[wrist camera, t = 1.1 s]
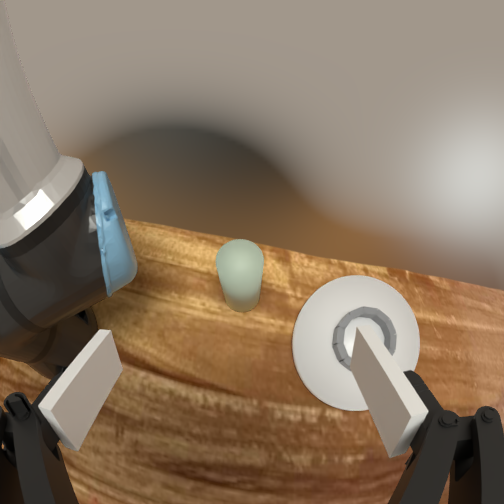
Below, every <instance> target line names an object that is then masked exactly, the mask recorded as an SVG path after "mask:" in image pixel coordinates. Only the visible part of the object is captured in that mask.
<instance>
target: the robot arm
mask: <svg viewBox="0 0 504 504" xmlns="http://www.w3.org/2000/svg"><path fill="white" fill-rule="evenodd" d="M137 269H138V265H137V260H136V256H135V253H134V250H133V246H132V243H131V240H130V237H129V234H128V231H127V228H126V225H125V222H124V220H123V217H122V214H121V211H120V208H119V205H118V202H117V199H116V196H115V193H114V191H113V188H112V185H111V183H110V180H109V179H108V176H107V174H106V172H104V171H100V172H94V173H92V176H90V175H89V174H88V172H87V170H86V168H85V166H84V164H83V163H82V161H81V160H80V159H78V158H74V157H68V156H64V155H62V154H60V153H59V152H58V149H57V147H56V145H55V144H54V141H53V139H52V137H51V135H50V133H49V131H48V129H47V127H46V124H45V122H44V120H43V117H42V115H41V113H40V111H39V109H38V106H37V104H36V101H35V99H34V96H33V93H32V91H31V88H30V86H29V83H28V80H27V78H26V75H25V72H24V69H23V66H22V63H21V60H20V57H19V54H18V51H17V48H16V44H15V41H14V38H13V33H12V30H11V26H10V22H9V18H8V13H7V8H6V3H5V0H0V357H4V358H7V359H11V360H15V361H19V362H24V363H26V364H28V365H29V366H30V367H32V368H33V369H34V370H35V371H37V372H38V373H40V374H41V375H42V376H44V377H46V378H48V379H51V381H50V382H49V384H48V385H47V386H46V387H45V390H43V391H42V392H41V393H40V395H39V396H38V397H37V398H36V400H35V401H34V402H33V404H32V405H31V404H30V402H29V401H28V399H27V397H26V396H25V395H24V394H23V393H21V392H15V393H12V394H10V395H9V396H7V397H6V399H5V400H4V406H5V407H6V409H7V410H8V412H9V413H7V412H4V410H3V409H2V407H1V406H0V504H79V503H78V500H77V498H76V495H75V493H74V490H73V488H72V485H71V482H70V479H69V476H68V473H67V470H66V467H65V464H64V461H63V458H62V454H61V451H60V448H59V446H58V445H57V443H58V441H59V440H61V442H62V443H63V445H64V446H65V447H67V448H69V449H72V450H75V451H79V449H80V447H81V445H82V443H83V441H84V439H85V437H86V435H87V433H88V431H89V430H90V428H91V426H92V424H93V422H94V420H95V418H96V416H97V415H98V413H99V411H100V409H101V407H102V406H103V404H104V402H105V400H106V398H107V397H108V395H109V393H110V391H111V389H112V388H113V386H114V384H115V382H116V381H117V379H118V377H119V376H120V374H121V372H122V370H123V368H122V365H121V362H120V359H119V355H118V352H117V349H116V346H115V342H114V339H113V336H112V332H111V330H102V329H100V330H99V331H98V328H97V322H96V318H95V315H94V313H93V311H92V309H91V307H90V306H92V305H94V304H96V303H97V302H99V301H101V300H103V299H105V298H107V297H108V298H109V297H110V296H112V294H113V293H114V292H115V291H117V290H119V289H120V288H122V287H123V286H125V285H127V284H128V283H130V282H131V281H132V280H133V279H134V278H135V275H136V273H137ZM350 369H351V371H352V374H353V376H354V378H355V380H356V382H357V384H358V387H359V389H360V391H361V393H362V395H363V398H364V400H365V402H366V404H367V407H368V409H369V411H370V413H371V416H372V418H373V420H374V422H375V425H376V427H377V429H378V432H379V434H380V436H381V439H382V441H383V443H384V446H385V448H386V451H387V453H388V455H389V458H391V457H394V456H397V455H401V454H404V453H406V451H407V449H408V448H409V446H411V448H412V450H413V453H412V454H411V456H410V457H409V459H408V460H407V462H406V463H405V464H406V468H405V470H404V472H403V474H402V476H401V479H400V481H399V483H398V485H397V487H396V489H395V491H394V493H393V495H392V497H391V499H390V500H389V502H388V504H439V501H440V498H441V496H442V493H443V490H444V487H445V484H446V481H447V478H448V474H449V471H450V485H449V499H448V504H504V433H503V428H502V424H501V419H500V415H499V413H498V411H497V410H496V409H494V408H492V407H489V406H484V407H481V408H479V409H478V410H477V412H476V414H475V415H474V416H467V417H459V416H458V415H457V414H456V413H454V412H452V411H449V410H443V408H442V407H441V406H440V404H439V403H438V401H437V400H436V398H435V397H434V395H433V394H432V393H431V391H430V390H428V387H427V386H426V384H424V381H423V380H422V379H421V377H420V376H419V375H418V374H416V373H415V372H413V371H412V370H408V371H404V372H402V370H401V369H400V367H399V366H398V364H397V363H396V361H395V360H394V358H393V357H392V355H391V354H390V353H389V351H388V350H387V348H386V347H385V345H384V344H383V343H382V341H381V340H380V338H379V337H378V336H377V334H376V333H375V331H374V330H373V329H372V327H371V326H370V325H365V326H357V328H356V334H355V340H354V346H353V352H352V358H351V363H350ZM2 443H3V445H4V449H2Z"/></svg>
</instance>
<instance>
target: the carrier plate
mask: <svg viewBox="0 0 504 504" xmlns="http://www.w3.org/2000/svg"><path fill="white" fill-rule="evenodd" d="M365 325H370V326H371V327H372V329H373V330H374V331H375V333H376V334H377V336H378V337H379V338H380V340H381V341H382V343H383V344H384V345H385V347H386V348H387V350H388V351H389V353H390V354H391V355H392V357H393V358H394V360H395V361H396V363H397V364H398V366H399V367H400V369H401V370H402V372H404V371H408V370H412V371H413V372H414V370H415V367H416V364H417V360H418V356H419V349H420V337H419V329H418V325H417V321H416V319H415V316H414V314H413V312H412V310H411V308H410V306H409V305H408V303H407V301H406V300H405V299H404V298H403V297H402V295H401V294H400V293H398V292H397V291H396V290H395V289H394V288H393V287H391V286H390V285H388V284H386V283H385V282H383V281H380V280H378V279H375V278H372V277H368V276H360V275H355V276H345V277H341V278H338V279H335V280H333V281H330V282H328V283H327V284H325V285H323V286H322V287H320V288H319V289H318V290H317V291H316V292H314V294H313V295H312V296H311V297H310V298H309V299H308V300H307V302H306V303H305V305H304V306H303V308H302V309H301V311H300V313H299V315H298V317H297V320H296V323H295V326H294V330H293V336H292V354H293V360H294V364H295V367H296V370H297V372H298V374H299V377H300V379H301V380H302V382H303V383H304V385H305V386H306V387H307V389H308V390H309V391H310V392H311V393H312V394H313V395H314V396H315V397H317V398H318V399H319V400H321V401H322V402H324V403H326V404H328V405H330V406H332V407H336V408H339V409H343V410H350V411H362V410H368V407H367V404H366V402H365V400H364V398H363V395H362V393H361V391H360V389H359V387H358V384H357V382H356V380H355V378H354V376H353V374H352V371H351V369H350V363H351V358H352V352H353V346H354V340H355V334H356V328H357V326H365Z"/></svg>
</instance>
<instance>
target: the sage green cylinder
mask: <svg viewBox="0 0 504 504" xmlns="http://www.w3.org/2000/svg"><path fill="white" fill-rule="evenodd" d="M263 265H264V257H263V254H262V252H261V250H260V248H259V247H258V246H257V245H256V244H254V243H253V242H251V241H248V240H243V239H237V240H232V241H230V242H228V243H226V244H224V245H223V246H222V247H221V248H220V250H219V251H218V253H217V256H216V267H217V271H218V275H219V279H220V282H221V286H222V290H223V294H224V297H225V301H226V303H227V305H228V306H229V307H230V308H231V309H232V310H234V311H237V312H247V311H250V310H252V309H253V308H254V307H255V306H256V305H257V304H258V302H259V298H260V290H261V282H262V273H263Z"/></svg>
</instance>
